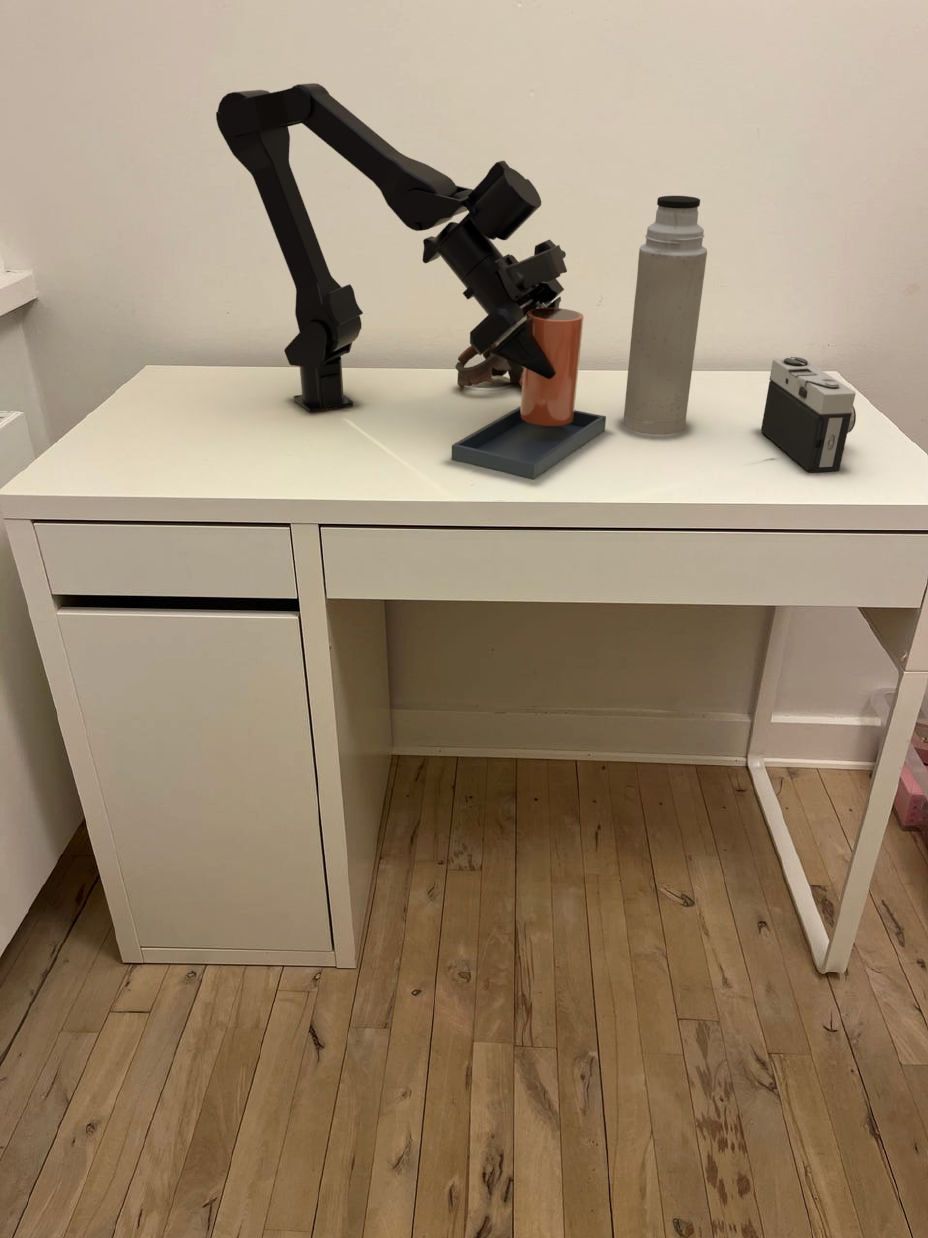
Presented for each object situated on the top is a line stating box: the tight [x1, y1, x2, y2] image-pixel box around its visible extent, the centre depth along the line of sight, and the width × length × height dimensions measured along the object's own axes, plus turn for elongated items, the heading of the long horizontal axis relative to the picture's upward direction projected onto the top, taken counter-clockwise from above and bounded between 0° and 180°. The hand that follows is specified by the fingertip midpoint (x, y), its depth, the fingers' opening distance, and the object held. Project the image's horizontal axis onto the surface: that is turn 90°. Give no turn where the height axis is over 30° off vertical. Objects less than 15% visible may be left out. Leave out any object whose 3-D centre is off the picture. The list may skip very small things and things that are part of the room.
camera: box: [760, 356, 857, 473], centre depth 119 cm, size 14×8×10 cm, turn 9°
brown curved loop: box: [454, 343, 523, 390], centre depth 141 cm, size 12×10×8 cm
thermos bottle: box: [622, 195, 708, 436], centre depth 121 cm, size 8×8×28 cm
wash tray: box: [451, 405, 607, 480], centre depth 121 cm, size 19×11×2 cm, turn 148°
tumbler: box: [520, 307, 584, 426], centre depth 120 cm, size 7×7×13 cm
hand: (562, 368), depth 120 cm, fingers closed on tumbler, 7 cm apart
